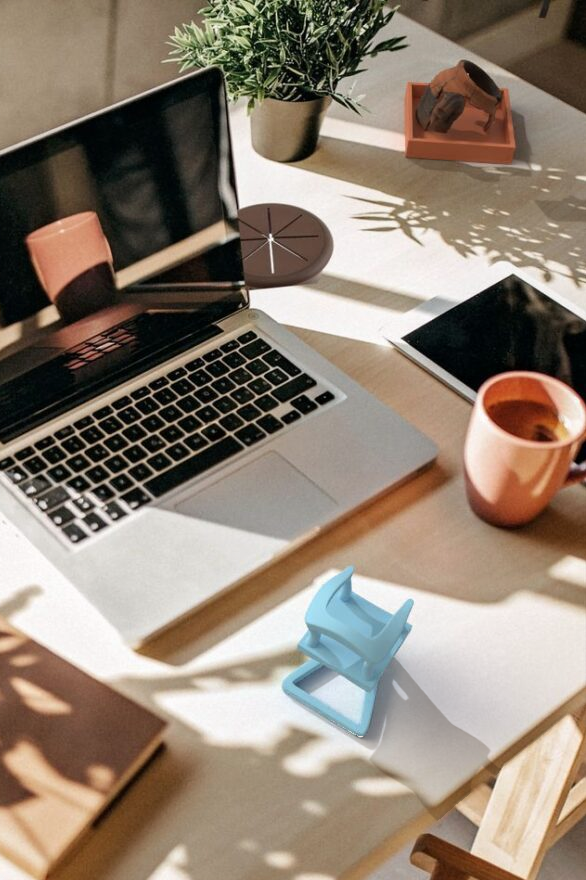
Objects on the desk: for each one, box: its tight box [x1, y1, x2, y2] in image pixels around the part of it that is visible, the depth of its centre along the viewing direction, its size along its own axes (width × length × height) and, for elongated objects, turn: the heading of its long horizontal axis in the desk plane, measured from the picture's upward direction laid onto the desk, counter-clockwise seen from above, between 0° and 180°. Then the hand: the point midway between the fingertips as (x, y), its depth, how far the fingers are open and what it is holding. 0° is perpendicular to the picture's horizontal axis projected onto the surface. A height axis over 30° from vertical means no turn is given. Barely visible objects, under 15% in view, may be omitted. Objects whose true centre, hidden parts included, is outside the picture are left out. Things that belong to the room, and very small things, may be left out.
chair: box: [281, 565, 415, 737], centre depth 75 cm, size 8×8×12 cm
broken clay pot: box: [415, 59, 502, 133], centre depth 123 cm, size 12×10×8 cm
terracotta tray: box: [404, 81, 516, 165], centre depth 125 cm, size 13×13×2 cm
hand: (483, 5), depth 111 cm, fingers open, 13 cm apart
